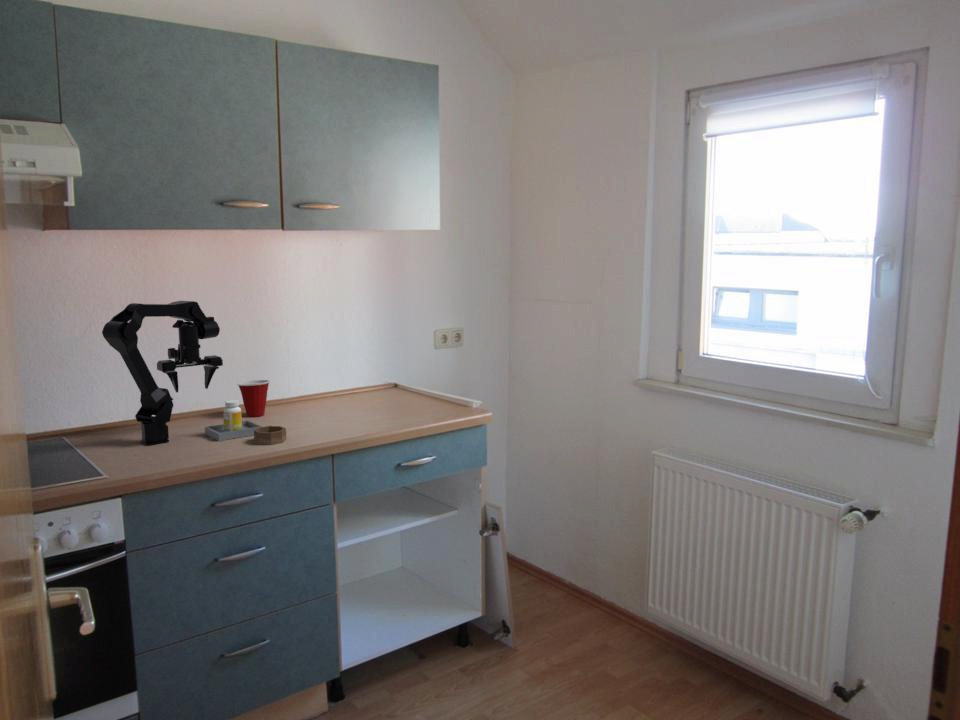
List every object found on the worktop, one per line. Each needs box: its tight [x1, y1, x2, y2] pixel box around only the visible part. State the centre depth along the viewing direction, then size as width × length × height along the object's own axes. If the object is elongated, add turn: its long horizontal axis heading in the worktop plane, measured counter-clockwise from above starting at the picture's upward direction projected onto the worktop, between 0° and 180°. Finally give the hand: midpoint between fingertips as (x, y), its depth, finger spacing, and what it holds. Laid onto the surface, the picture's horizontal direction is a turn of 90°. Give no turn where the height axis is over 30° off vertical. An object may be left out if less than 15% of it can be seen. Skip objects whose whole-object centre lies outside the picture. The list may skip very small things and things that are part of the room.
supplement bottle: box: [222, 399, 243, 432], centre depth 237 cm, size 5×5×10 cm
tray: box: [204, 419, 264, 442], centre depth 238 cm, size 14×11×2 cm
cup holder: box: [253, 425, 287, 446], centre depth 230 cm, size 9×9×4 cm
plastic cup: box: [236, 379, 270, 418], centre depth 262 cm, size 11×11×12 cm
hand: (191, 390), depth 240 cm, fingers open, 9 cm apart
